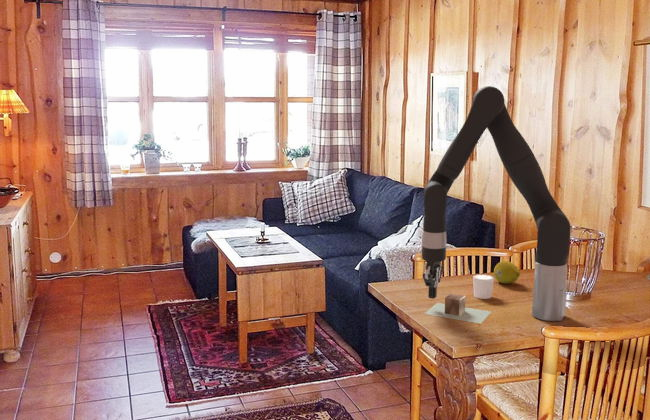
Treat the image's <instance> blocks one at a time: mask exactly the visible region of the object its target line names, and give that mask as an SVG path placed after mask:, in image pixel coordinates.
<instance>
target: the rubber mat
mask: <svg viewBox="0 0 650 420" xmlns="http://www.w3.org/2000/svg"><path fill="white" fill-rule="evenodd" d="M491 313H492V311H490V310H485V309H484V310H483V309H477V308H471V307H466V306H465V312H464V313H463V314H462V315H461V316H458V315H452V314H446V313H445V303H441V302H436V303H435V304H434V305H433V306H431V307H430V308H429V309H428V310H427V311H426V312H424V313H423V314H424V315H428V316H434V317H439V318H440V317H441V318H446V319H450V320H457V321H463V322H469V323H473V324H482V323H483V322H484V321H485V320H486V319H487V318H488V317H489V315H491Z"/></svg>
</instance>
